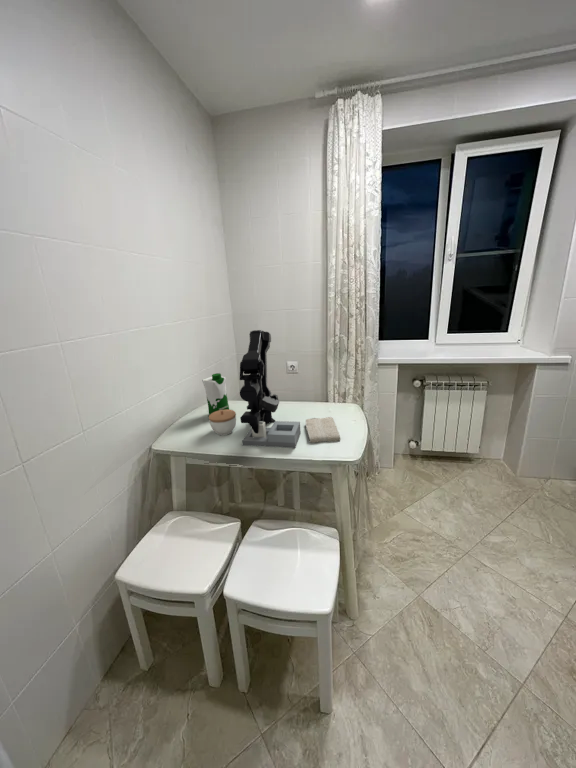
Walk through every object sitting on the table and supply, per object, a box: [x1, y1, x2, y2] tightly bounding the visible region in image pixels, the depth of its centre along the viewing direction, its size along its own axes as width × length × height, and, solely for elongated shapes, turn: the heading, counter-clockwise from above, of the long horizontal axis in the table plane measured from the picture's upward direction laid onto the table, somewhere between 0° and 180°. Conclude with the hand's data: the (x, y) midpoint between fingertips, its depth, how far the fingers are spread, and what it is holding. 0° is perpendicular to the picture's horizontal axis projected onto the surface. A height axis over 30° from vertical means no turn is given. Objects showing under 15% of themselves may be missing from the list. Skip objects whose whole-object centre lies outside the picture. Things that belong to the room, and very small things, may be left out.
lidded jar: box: [208, 409, 237, 436], centre depth 119 cm, size 11×11×9 cm
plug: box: [252, 421, 267, 438], centre depth 112 cm, size 4×3×7 cm, turn 79°
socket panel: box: [241, 420, 302, 449], centre depth 111 cm, size 20×11×5 cm, turn 78°
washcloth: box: [305, 416, 342, 444], centre depth 115 cm, size 12×18×3 cm, turn 3°
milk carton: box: [202, 372, 230, 416], centre depth 135 cm, size 9×9×20 cm
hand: (259, 430), depth 112 cm, fingers open, 5 cm apart
